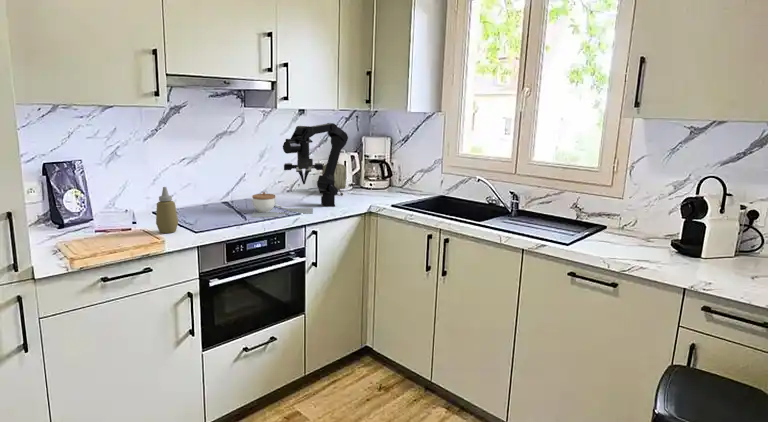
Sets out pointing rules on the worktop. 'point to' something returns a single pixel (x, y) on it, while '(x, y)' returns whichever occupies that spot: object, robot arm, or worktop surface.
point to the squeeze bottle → (166, 213)
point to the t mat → (275, 214)
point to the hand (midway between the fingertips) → (304, 184)
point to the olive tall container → (338, 176)
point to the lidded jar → (264, 202)
